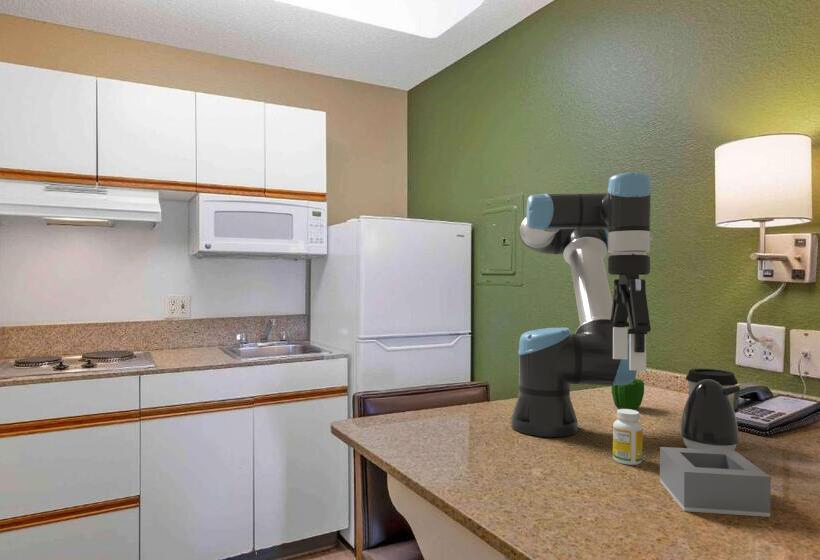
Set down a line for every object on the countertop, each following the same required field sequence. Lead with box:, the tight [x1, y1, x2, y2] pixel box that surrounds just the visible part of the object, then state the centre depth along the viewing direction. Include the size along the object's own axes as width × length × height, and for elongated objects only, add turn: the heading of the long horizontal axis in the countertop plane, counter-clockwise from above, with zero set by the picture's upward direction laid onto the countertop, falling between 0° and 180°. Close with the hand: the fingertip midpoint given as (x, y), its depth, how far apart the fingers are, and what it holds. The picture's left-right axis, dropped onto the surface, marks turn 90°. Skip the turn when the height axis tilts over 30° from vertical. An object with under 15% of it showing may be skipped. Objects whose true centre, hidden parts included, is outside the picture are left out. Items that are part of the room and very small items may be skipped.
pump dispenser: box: [679, 379, 742, 451], centre depth 106 cm, size 10×10×15 cm
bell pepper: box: [611, 378, 645, 411], centre depth 144 cm, size 8×8×10 cm
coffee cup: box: [685, 368, 739, 407], centre depth 116 cm, size 10×10×15 cm
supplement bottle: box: [612, 408, 644, 466], centre depth 103 cm, size 5×5×10 cm
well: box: [659, 446, 772, 518], centre depth 86 cm, size 12×12×6 cm
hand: (628, 364), depth 103 cm, fingers open, 13 cm apart
